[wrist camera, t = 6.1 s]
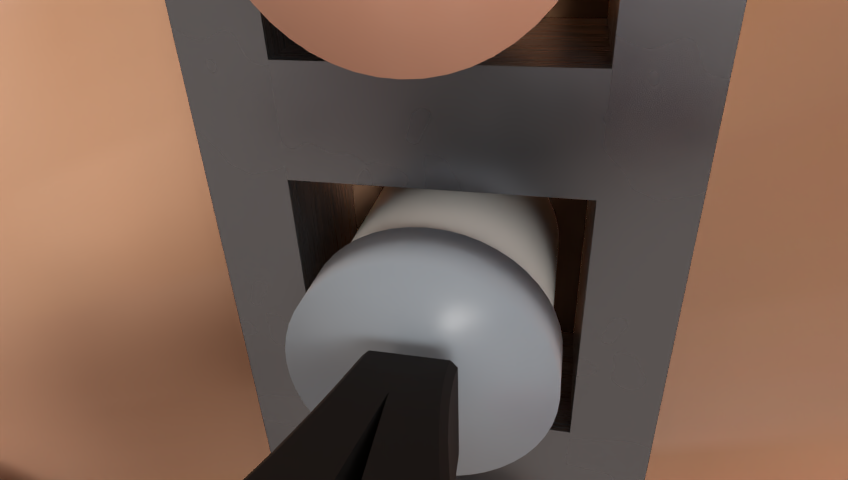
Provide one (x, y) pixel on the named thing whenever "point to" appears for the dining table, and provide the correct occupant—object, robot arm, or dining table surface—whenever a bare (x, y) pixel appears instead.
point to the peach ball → (404, 32)
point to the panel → (477, 185)
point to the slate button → (446, 311)
